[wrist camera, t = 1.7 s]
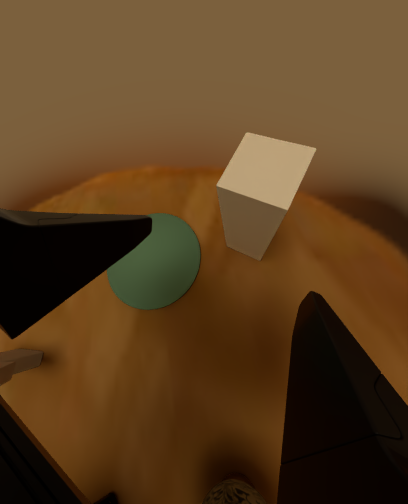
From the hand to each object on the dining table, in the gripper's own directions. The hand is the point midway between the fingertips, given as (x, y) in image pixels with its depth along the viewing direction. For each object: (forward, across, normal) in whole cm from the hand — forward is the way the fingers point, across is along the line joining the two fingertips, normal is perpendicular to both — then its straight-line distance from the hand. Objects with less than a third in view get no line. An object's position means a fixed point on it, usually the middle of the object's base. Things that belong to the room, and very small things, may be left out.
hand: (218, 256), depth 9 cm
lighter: (-5, +17, +23) cm, 29 cm away
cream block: (+13, 0, +4) cm, 14 cm away
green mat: (+8, +10, +10) cm, 16 cm away
